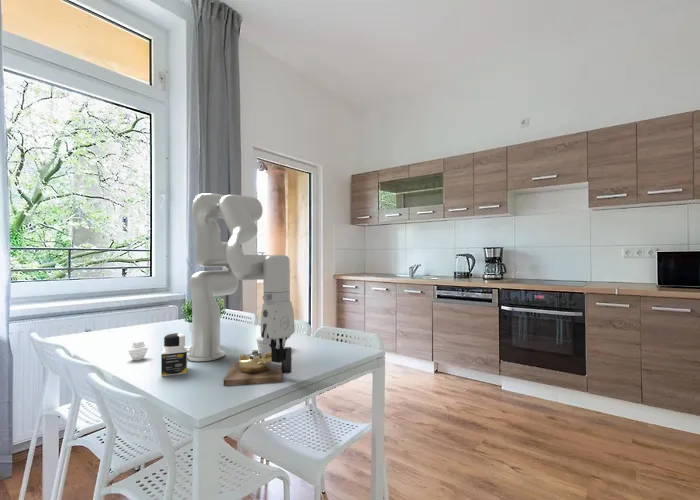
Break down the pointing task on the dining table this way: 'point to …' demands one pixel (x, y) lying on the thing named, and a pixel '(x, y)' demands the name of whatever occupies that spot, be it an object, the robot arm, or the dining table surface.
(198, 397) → the dining table surface
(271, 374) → the walnut board
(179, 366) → the medicine bottle
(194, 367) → the dining table surface
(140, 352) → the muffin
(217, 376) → the dining table surface
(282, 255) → the robot arm
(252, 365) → the brass valve
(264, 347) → the ramekin
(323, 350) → the dining table surface
